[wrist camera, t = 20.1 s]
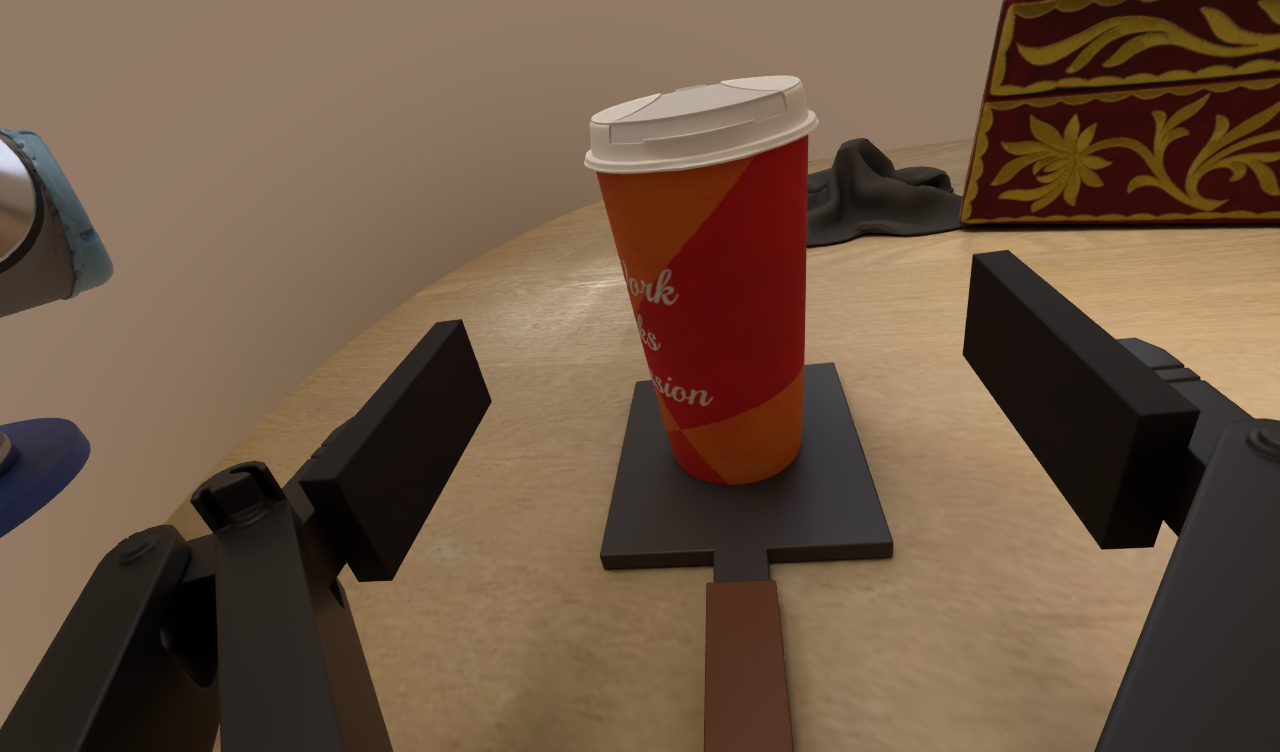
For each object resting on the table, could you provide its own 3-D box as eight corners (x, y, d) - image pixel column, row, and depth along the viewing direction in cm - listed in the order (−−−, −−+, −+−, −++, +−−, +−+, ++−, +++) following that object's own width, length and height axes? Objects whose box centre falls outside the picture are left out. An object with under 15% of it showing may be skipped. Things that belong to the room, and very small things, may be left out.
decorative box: (957, 225, 47) (982, -1, 39) (970, 161, 60) (990, -16, 52) (1510, 224, 34) (1708, -114, 26) (1368, 143, 47) (1472, -95, 40)
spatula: (512, 1031, 13) (496, 1013, 13) (638, 392, 35) (634, 375, 35) (1063, 1089, 11) (1075, 1071, 11) (834, 374, 33) (833, 355, 33)
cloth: (721, 250, 53) (713, 179, 50) (769, 188, 67) (765, 129, 64) (1020, 241, 43) (1033, 153, 40) (1002, 171, 57) (1011, 101, 54)
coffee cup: (652, 404, 32) (590, 103, 25) (809, 384, 31) (794, 64, 24) (645, 516, 25) (556, 141, 18) (848, 496, 24) (845, 87, 17)
